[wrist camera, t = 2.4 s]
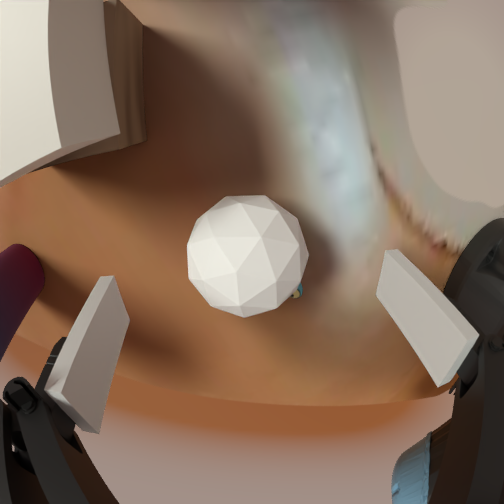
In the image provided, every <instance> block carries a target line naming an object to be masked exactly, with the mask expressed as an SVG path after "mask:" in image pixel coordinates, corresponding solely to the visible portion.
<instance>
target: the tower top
mask: <svg viewBox="0 0 504 504" xmlns="http://www.w3.org/2000/svg"><path fill="white" fill-rule="evenodd" d="M118 134H120V129H119V124H118V119H117V114H116V109H115V103H114V97H113V91H112V85H111V78H110V71H109V64H108V56H107V46H106V36H105V23H104V5H103V0H0V187H2V186H4V185H6V184H8V183H10V182H12V181H14V180H16V179H18V178H20V177H21V176H23V175H25V174H27V173H29V172H31V171H33V170H35V169H37V168H39V167H41V166H43V165H45V164H47V163H49V162H51V161H53V160H55V159H57V158H60V157H62V156H64V155H66V154H69V153H71V152H73V151H76V150H78V149H81V148H83V147H86V146H88V145H91V144H93V143H96V142H98V141H101V140H104V139H107V138H109V137H112V136H115V135H118Z"/></svg>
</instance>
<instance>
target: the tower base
mask: <svg viewBox="0 0 504 504" xmlns="http://www.w3.org/2000/svg"><path fill="white" fill-rule="evenodd" d="M103 5H104V23H105V36H106V46H107V56H108V64H109V71H110V78H111V85H112V91H113V97H114V103H115V109H116V114H117V119H118V124H119V129H120V134H118V135H115V136H112V137H109V138H107V139H104V140H101V141H98V142H96V143H93V144H91V145H88V146H86V147H83V148H81V149H78V150H76V151H73V152H71V153H69V154H66V155H64V156H62V157H60V158H57V159H55V160H53V161H51V162H49V163H47V164H45V165H43V166H41V167H39V168H37V169H35V170H33V171H37V170H40V169H43V168H46V167H50V166H53V165H56V164H60V163H64V162H67V161H71V160H75V159H79V158H83V157H87V156H91V155H95V154H100V153H104V152H109V151H114V150H119V149H122V148H125V147H128V146H131V145H134V144H137V143H141V142H144V141H147V133H146V121H145V107H144V89H143V24H142V23H141V22H140V21H139V20H138V19H137V18H136V17H135V16H134V15H133V14H132V13H131V12H130V11H129V10H128V9H127V8H126V7H125V6H124V4H123V3H122V2H121V1H120V0H108V1H105V2H103ZM33 171H31V172H33ZM29 173H30V172H29Z"/></svg>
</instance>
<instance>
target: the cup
mask: <svg viewBox="0 0 504 504" xmlns="http://www.w3.org/2000/svg"><path fill="white" fill-rule="evenodd" d="M44 280H45V278H44V272H43V269H42V267H41V264H40V262H39V261H38V259H37V257H36V256H35V255H34V254H33V253H32V252H31V251H30V250H29V249H28V248H27V247H25V246H23V245H20V244H13V245H11V246H10V247H8V248H7V249H5V250H4V251H3V252H1V253H0V361H1V359H2V357H3V355H4V353H5V351H6V349H7V347H8V345H9V343H10V342H11V340H12V338H13V336H14V334H15V333H16V331H17V329H18V327H19V325H20V324H21V322H22V320H23V319H24V317H25V315H26V314H27V312H28V310H29V309H30V307H31V306H32V304H33V303H34V301H35V299H36V298H37V296H38V295H39V293H40V292H41V290H42V289H43V287H44Z"/></svg>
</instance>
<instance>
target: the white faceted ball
mask: <svg viewBox="0 0 504 504" xmlns="http://www.w3.org/2000/svg"><path fill="white" fill-rule="evenodd" d="M187 256H188V275H189V280H190V281H191V282H192V283H193V285H194V286H195V287H196V288H197V290H198V291H199V292H200V293H201V295H202V296H203V297H204V298H205V300H206V301H207V302H208V303H209V305H210V306H211V307H214V308H217V309H220V310H223V311H226V312H229V313H232V314H235V315H238V316H241V317H244V318H245V317H249V316H252V315H256V314H259V313H263V312H266V311H269V310H273V309H276V308H278V307H279V306H280V305H281V304H282V303H283V302H284V301H285V300H286V299H287V298H289V297H291V298H299V297H300V296H301V295H302V291H303V289H302V285H301V283H300V282H301V279H302V276H303V273H304V270H305V267H306V264H307V260H308V257H309V254H308V250H307V247H306V244H305V241H304V237H303V234H302V231H301V228H300V225H299V222H298V219H297V218H296V217H295V216H293V215H292V214H291V213H289V212H288V211H287V210H285V209H284V208H282V207H281V206H280V205H278V204H277V203H275V202H274V201H272V200H271V199H270V198H268V197H267V196H265V195H252V196H226V197H224V198H223V199H222V200H220V201H219V202H218V203H217V204H215V205H214V206H213V207H212V208H210V209H209V210H208V211H207V212H205V213H204V214H203V215H202V216H201V217H199V218H198V219H197V220H196V223H195V225H194V228H193V231H192V233H191V236H190V238H189V241H188V244H187Z"/></svg>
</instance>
